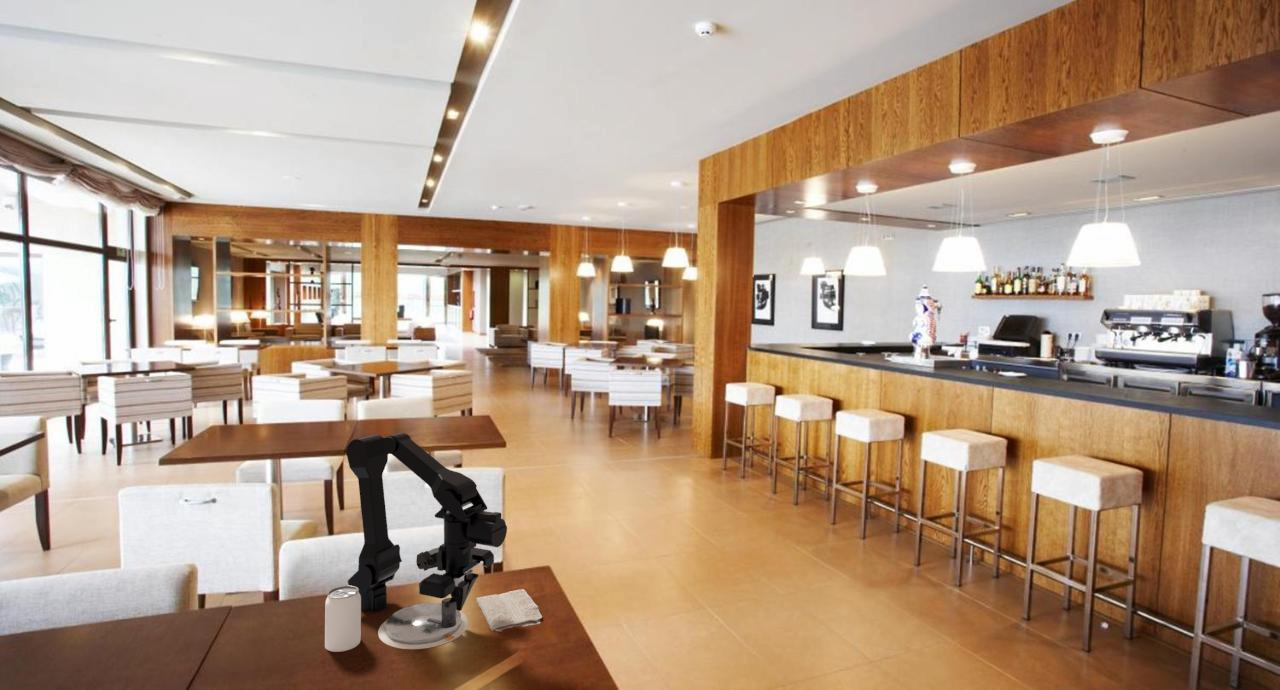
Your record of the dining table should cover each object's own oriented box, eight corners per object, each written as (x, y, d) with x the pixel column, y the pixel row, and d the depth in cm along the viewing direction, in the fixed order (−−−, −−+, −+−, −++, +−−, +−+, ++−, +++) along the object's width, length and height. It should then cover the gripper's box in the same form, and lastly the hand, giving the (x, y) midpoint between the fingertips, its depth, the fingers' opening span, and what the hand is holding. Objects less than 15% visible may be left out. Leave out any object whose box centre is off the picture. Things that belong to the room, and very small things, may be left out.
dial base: (359, 637, 135) (360, 628, 135) (431, 605, 150) (431, 598, 150) (414, 666, 125) (415, 657, 125) (485, 629, 140) (485, 621, 140)
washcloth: (492, 642, 136) (493, 628, 135) (472, 606, 151) (472, 593, 151) (546, 631, 141) (547, 617, 141) (522, 597, 157) (522, 584, 157)
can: (346, 661, 126) (347, 600, 125) (317, 656, 127) (317, 596, 126) (367, 644, 132) (368, 586, 131) (339, 640, 133) (339, 583, 133)
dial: (369, 635, 132) (370, 604, 132) (416, 604, 147) (417, 576, 146) (432, 650, 128) (433, 618, 127) (474, 616, 142) (475, 587, 142)
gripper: (453, 519, 148) (453, 585, 150) (396, 549, 131) (397, 624, 132) (495, 526, 145) (495, 593, 146) (442, 558, 127) (443, 634, 128)
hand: (458, 610), depth 138 cm, fingers closed
